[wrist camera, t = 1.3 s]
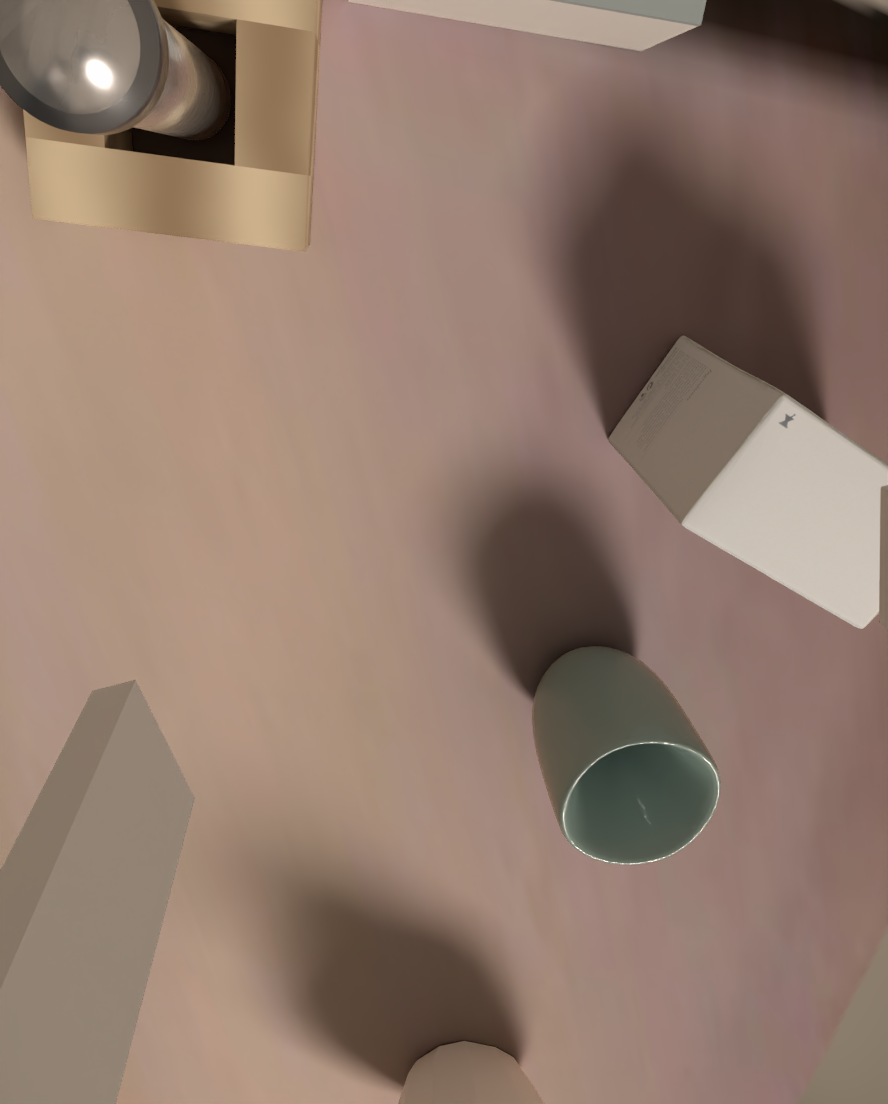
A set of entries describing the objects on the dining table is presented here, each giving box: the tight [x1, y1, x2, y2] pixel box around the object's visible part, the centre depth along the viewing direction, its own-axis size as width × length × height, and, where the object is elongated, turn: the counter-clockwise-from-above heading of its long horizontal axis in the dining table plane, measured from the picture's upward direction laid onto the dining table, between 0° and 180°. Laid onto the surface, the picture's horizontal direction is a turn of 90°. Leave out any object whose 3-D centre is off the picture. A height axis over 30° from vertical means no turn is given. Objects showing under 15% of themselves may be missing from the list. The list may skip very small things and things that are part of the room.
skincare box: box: [608, 335, 888, 629], centre depth 36 cm, size 10×6×10 cm, turn 59°
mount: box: [23, 0, 322, 252], centre depth 30 cm, size 10×10×4 cm
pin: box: [0, 0, 231, 140], centre depth 25 cm, size 4×4×15 cm
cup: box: [532, 646, 721, 865], centre depth 42 cm, size 8×8×10 cm
